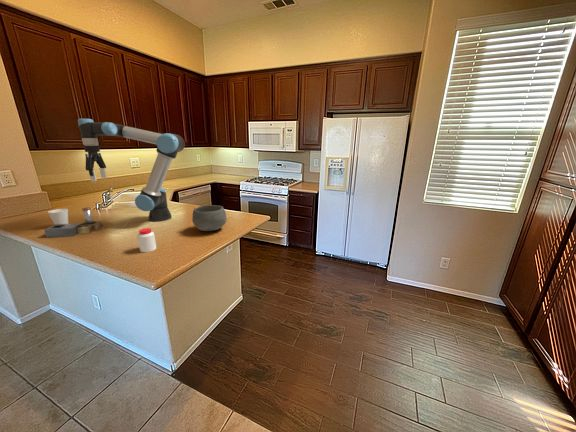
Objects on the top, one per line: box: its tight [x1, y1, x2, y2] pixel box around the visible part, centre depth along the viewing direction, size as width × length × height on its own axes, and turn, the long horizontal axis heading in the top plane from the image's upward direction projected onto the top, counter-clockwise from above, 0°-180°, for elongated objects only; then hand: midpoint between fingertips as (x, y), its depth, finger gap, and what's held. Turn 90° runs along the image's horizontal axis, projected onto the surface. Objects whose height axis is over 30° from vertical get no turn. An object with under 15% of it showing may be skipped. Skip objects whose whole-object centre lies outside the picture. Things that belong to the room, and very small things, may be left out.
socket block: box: [44, 222, 83, 238], centre depth 145 cm, size 14×10×5 cm
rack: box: [81, 220, 104, 232], centre depth 153 cm, size 10×8×4 cm
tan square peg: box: [76, 225, 93, 235], centre depth 146 cm, size 11×4×4 cm, turn 103°
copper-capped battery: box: [81, 207, 94, 225], centre depth 152 cm, size 4×4×14 cm
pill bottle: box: [136, 227, 157, 253], centre depth 125 cm, size 8×8×11 cm
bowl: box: [191, 204, 228, 232], centre depth 154 cm, size 21×21×15 cm
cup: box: [47, 208, 69, 225], centre depth 156 cm, size 10×10×11 cm
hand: (99, 179), depth 154 cm, fingers open, 13 cm apart
